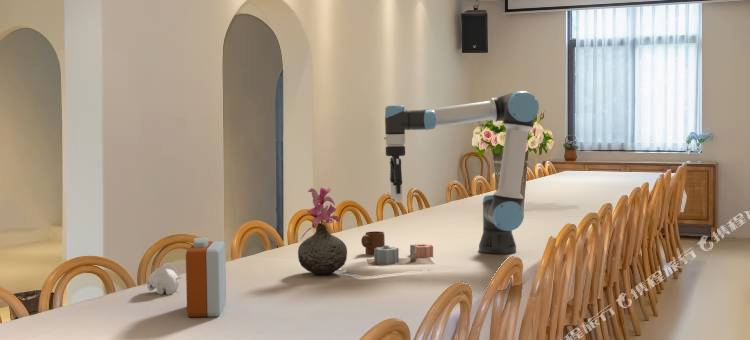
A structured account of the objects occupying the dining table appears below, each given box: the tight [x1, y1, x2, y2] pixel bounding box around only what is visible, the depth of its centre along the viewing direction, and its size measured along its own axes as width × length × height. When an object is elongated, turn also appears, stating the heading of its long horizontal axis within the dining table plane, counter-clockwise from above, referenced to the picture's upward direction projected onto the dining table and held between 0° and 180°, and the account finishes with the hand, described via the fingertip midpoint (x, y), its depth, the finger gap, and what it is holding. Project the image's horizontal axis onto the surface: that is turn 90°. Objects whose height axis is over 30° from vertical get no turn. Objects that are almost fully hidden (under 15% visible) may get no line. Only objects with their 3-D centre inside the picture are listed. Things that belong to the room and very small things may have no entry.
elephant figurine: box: [142, 261, 182, 295], centre depth 247 cm, size 10×12×9 cm
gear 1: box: [373, 246, 400, 264], centre depth 293 cm, size 9×9×5 cm
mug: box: [361, 230, 386, 256], centre depth 312 cm, size 12×8×9 cm, turn 143°
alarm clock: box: [185, 237, 227, 318], centre depth 222 cm, size 18×9×21 cm, turn 5°
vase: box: [297, 187, 348, 277], centre depth 275 cm, size 17×17×30 cm
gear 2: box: [414, 243, 434, 258], centre depth 307 cm, size 9×9×5 cm
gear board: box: [365, 244, 435, 267], centre depth 294 cm, size 24×14×7 cm, turn 95°
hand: (396, 200), depth 305 cm, fingers open, 13 cm apart
